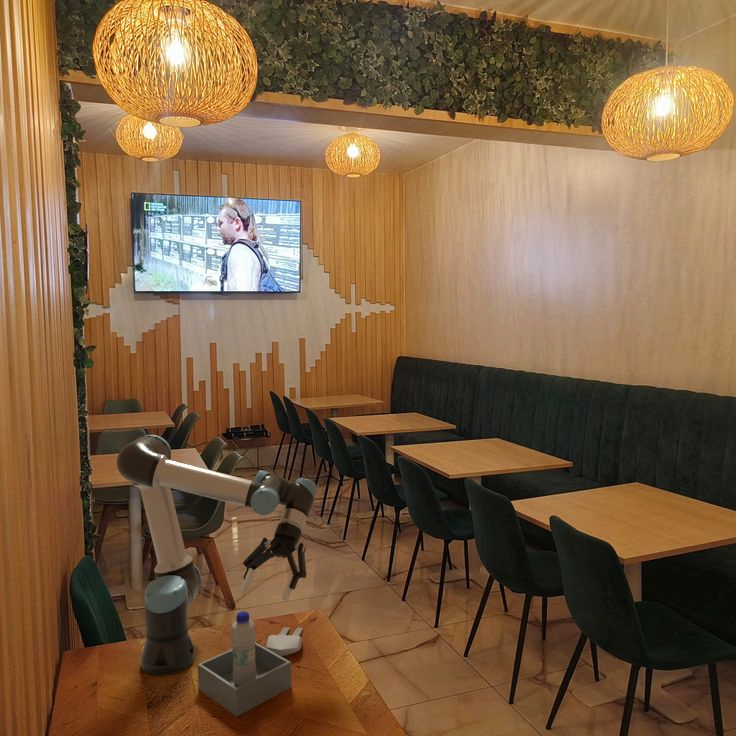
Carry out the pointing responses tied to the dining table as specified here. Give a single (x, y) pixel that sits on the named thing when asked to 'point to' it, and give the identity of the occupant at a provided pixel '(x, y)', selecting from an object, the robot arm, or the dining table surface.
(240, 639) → the bottle
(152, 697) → the dining table surface
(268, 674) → the tray
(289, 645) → the turret
